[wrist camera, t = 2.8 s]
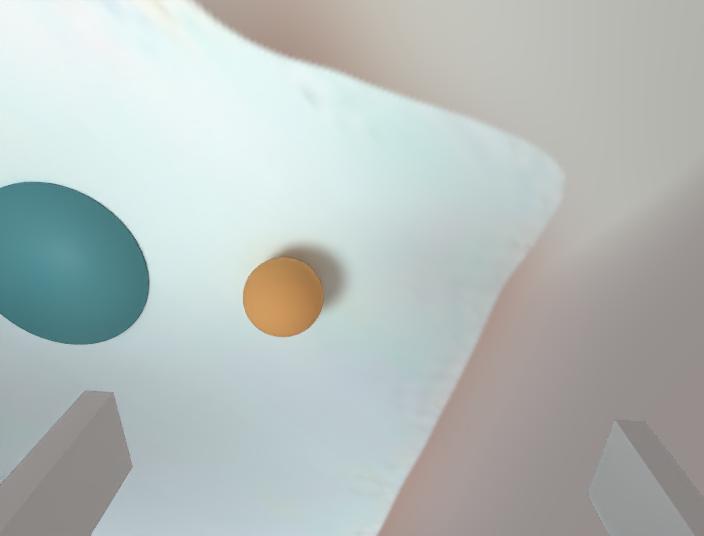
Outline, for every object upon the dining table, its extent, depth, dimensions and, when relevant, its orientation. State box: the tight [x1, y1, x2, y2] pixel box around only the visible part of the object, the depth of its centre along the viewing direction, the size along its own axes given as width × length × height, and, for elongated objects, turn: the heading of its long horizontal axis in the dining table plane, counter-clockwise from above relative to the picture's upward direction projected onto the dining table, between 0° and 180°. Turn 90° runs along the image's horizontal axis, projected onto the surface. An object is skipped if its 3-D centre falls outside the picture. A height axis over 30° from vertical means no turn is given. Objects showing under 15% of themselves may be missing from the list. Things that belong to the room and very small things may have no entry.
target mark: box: [0, 182, 148, 344], centre depth 32 cm, size 13×13×1 cm
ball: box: [243, 257, 323, 337], centre depth 30 cm, size 6×6×6 cm
